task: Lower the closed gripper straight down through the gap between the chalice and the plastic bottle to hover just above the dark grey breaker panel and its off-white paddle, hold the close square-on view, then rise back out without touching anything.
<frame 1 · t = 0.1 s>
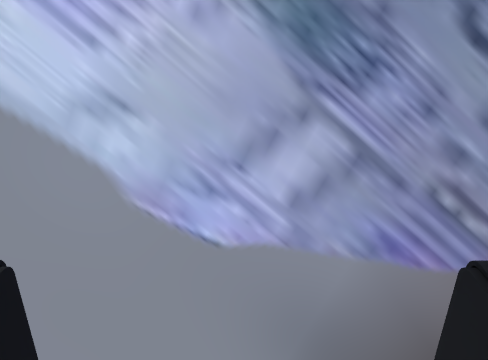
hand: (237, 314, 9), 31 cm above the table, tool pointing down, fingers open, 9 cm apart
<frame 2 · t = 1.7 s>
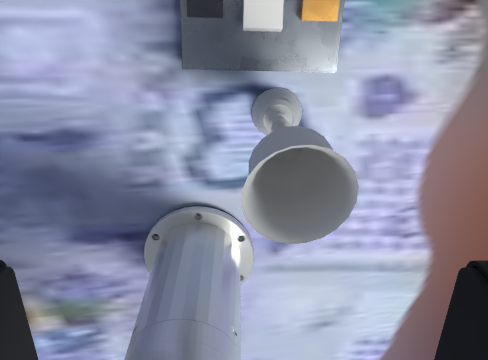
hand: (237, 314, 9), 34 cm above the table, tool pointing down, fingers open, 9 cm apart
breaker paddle: (263, 1, 35), point 3 cm above the table, hinge at 15.0°
chalice: (276, 112, 42), on the table
breaker panel: (261, 4, 38), on the table
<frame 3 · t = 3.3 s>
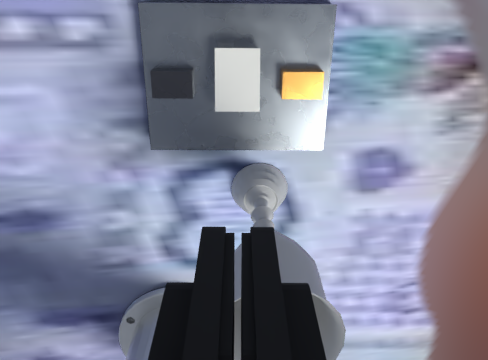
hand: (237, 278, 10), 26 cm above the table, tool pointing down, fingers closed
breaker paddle: (237, 80, 31), point 3 cm above the table, hinge at 15.0°
chalice: (259, 188, 38), on the table
breaker panel: (237, 76, 34), on the table
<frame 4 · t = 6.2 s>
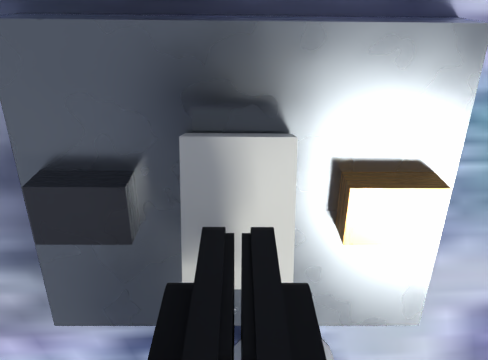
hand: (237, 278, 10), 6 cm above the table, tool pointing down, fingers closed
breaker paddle: (238, 209, 13), point 3 cm above the table, hinge at 15.0°
breaker panel: (238, 173, 16), on the table
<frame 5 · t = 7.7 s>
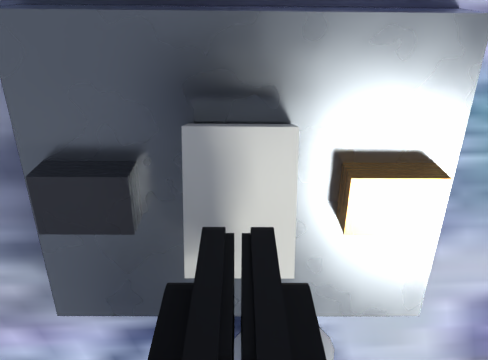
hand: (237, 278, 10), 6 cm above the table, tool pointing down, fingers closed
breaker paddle: (239, 199, 13), point 3 cm above the table, hinge at 15.0°
chalice: (280, 354, 20), on the table
breaker panel: (239, 165, 16), on the table
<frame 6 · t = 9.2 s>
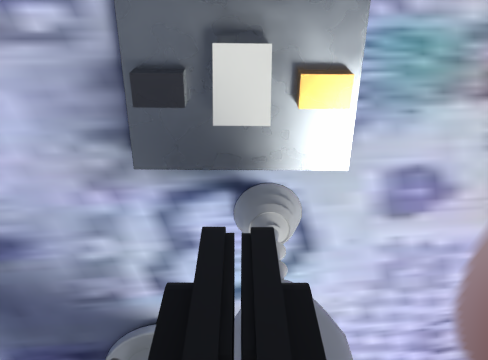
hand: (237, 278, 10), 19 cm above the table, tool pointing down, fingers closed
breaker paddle: (241, 85, 24), point 3 cm above the table, hinge at 15.0°
chalice: (267, 212, 32), on the table
breaker panel: (241, 78, 27), on the table
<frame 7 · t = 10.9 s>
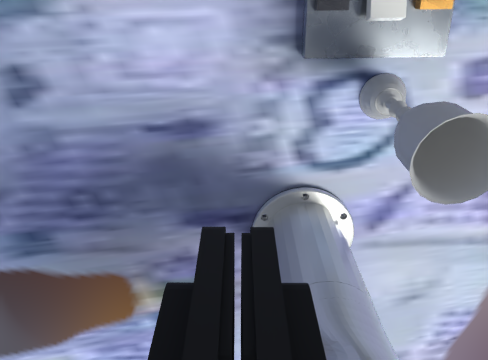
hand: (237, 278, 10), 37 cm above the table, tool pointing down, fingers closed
chalice: (382, 96, 46), on the table
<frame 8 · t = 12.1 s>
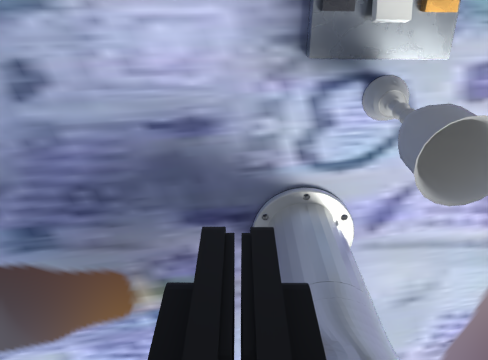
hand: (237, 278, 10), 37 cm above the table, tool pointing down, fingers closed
chalice: (385, 98, 46), on the table
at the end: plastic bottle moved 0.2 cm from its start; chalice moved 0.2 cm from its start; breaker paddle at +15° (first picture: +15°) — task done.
